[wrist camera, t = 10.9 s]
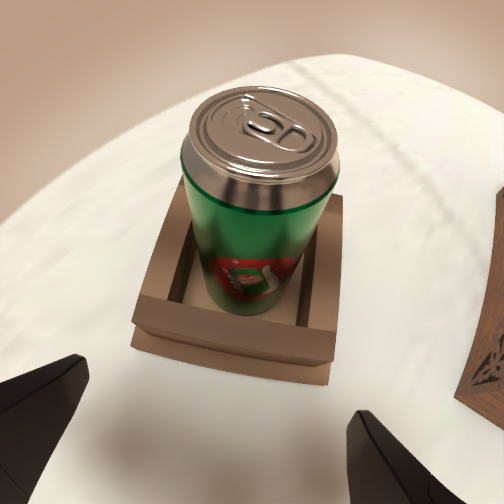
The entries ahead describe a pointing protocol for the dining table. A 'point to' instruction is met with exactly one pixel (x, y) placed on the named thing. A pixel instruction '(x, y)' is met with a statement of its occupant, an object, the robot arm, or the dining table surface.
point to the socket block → (234, 325)
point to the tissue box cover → (488, 339)
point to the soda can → (256, 190)
